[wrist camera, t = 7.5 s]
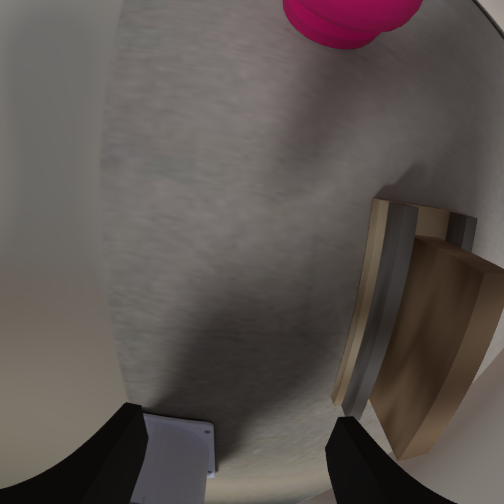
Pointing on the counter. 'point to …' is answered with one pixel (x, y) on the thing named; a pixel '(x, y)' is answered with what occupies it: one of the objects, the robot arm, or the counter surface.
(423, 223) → the track board
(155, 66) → the counter surface
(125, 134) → the counter surface
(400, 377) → the door panel
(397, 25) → the pepper mill
